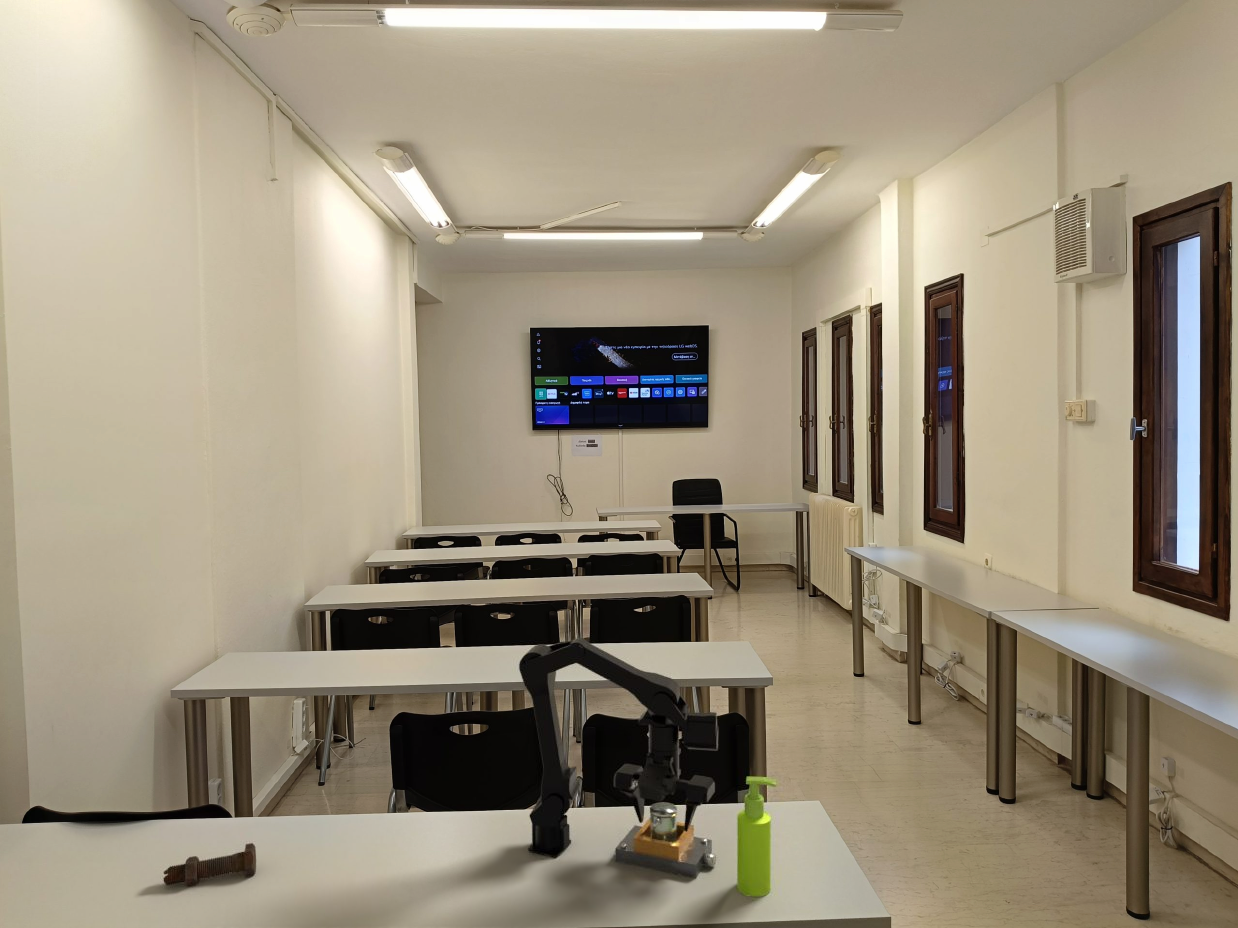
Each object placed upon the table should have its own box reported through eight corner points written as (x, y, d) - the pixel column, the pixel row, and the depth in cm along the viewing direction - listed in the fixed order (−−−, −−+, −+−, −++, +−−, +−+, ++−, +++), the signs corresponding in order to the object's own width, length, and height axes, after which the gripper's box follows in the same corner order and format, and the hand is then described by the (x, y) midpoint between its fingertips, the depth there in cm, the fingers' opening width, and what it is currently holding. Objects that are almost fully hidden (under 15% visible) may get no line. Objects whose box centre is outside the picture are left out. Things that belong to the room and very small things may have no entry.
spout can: (640, 854, 158) (640, 818, 158) (655, 835, 166) (655, 800, 166) (667, 860, 157) (667, 823, 156) (680, 840, 164) (680, 804, 164)
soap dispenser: (776, 899, 148) (776, 786, 147) (736, 894, 149) (736, 783, 148) (776, 881, 154) (777, 773, 153) (738, 877, 155) (738, 770, 154)
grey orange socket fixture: (615, 860, 161) (615, 835, 161) (634, 837, 170) (634, 812, 170) (706, 880, 154) (706, 853, 154) (721, 854, 163) (721, 829, 163)
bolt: (166, 894, 154) (256, 876, 159) (161, 893, 150) (253, 875, 154) (167, 859, 156) (256, 843, 161) (162, 858, 152) (253, 841, 157)
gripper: (601, 754, 158) (602, 836, 159) (698, 769, 151) (698, 855, 151) (624, 733, 168) (624, 810, 169) (715, 747, 161) (715, 827, 162)
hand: (663, 826), depth 162 cm, fingers open, 9 cm apart
